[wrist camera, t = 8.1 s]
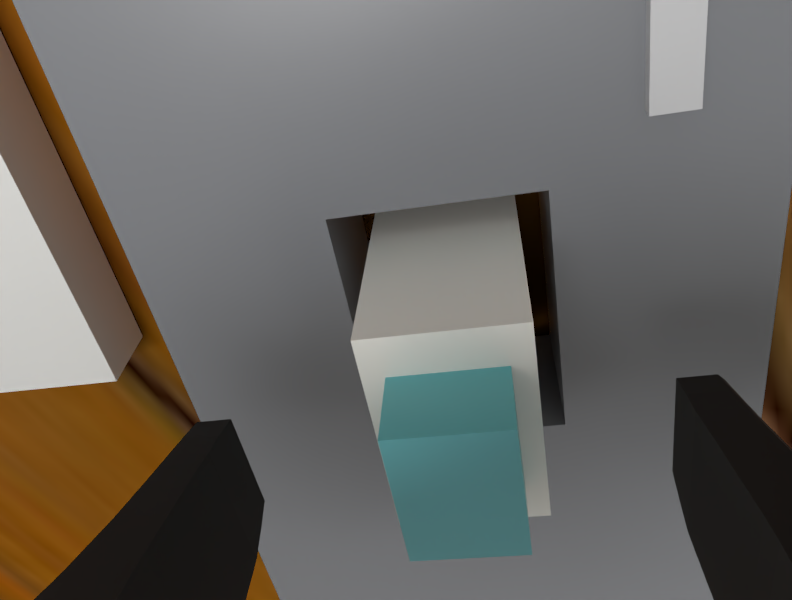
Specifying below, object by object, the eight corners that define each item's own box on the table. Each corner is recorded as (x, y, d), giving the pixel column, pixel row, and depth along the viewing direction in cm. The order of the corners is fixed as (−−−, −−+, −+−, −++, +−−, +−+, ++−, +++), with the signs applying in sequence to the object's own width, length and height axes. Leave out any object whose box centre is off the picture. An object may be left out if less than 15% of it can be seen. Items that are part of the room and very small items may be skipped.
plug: (525, 320, 18) (560, 583, 12) (414, 332, 19) (394, 591, 13) (509, 158, 16) (542, 384, 10) (382, 175, 16) (339, 402, 10)
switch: (700, 534, 22) (736, 644, 19) (319, 556, 24) (300, 658, 21) (778, -481, 10) (907, -592, 7) (4, -280, 12) (-139, -303, 9)
